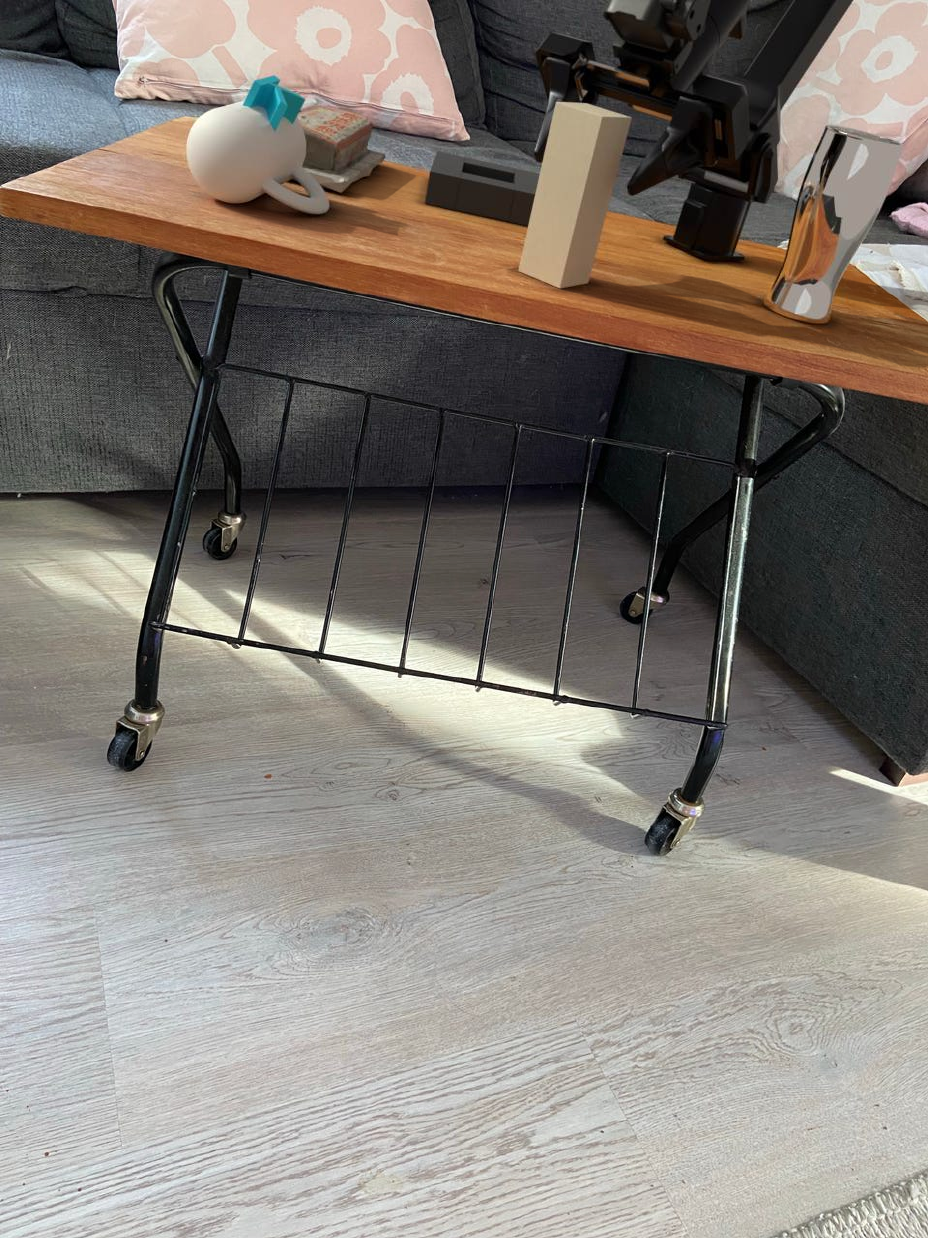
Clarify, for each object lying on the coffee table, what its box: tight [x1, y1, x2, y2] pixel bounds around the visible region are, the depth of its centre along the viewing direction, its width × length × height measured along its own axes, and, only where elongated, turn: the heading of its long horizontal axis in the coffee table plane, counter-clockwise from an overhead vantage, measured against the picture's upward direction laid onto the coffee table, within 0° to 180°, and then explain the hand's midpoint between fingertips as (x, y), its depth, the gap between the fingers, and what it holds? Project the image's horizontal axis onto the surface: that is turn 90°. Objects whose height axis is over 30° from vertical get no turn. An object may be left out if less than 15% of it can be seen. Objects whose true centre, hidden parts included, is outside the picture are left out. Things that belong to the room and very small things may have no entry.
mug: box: [185, 75, 330, 215], centre depth 83 cm, size 12×9×12 cm
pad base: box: [424, 150, 540, 227], centre depth 101 cm, size 11×11×3 cm
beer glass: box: [763, 124, 905, 325], centre depth 86 cm, size 7×7×15 cm
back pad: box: [518, 102, 633, 289], centre depth 80 cm, size 4×4×13 cm
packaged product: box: [290, 104, 387, 194], centre depth 99 cm, size 18×5×10 cm
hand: (581, 174), depth 79 cm, fingers open, 9 cm apart
